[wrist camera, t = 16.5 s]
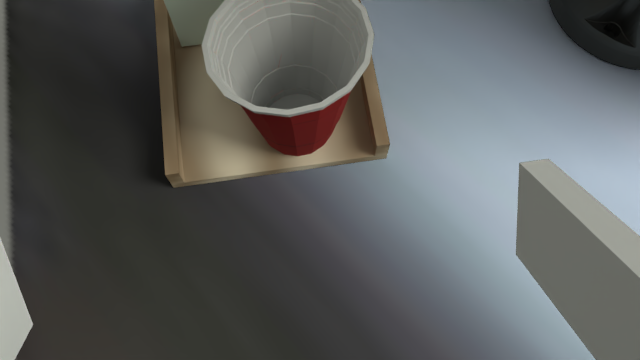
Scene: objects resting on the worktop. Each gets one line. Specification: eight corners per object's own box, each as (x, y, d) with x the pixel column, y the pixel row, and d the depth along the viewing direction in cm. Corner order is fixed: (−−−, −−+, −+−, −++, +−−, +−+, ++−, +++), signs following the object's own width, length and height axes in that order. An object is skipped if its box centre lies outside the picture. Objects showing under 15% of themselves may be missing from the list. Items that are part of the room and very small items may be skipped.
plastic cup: (293, 41, 51) (285, -62, 40) (390, 119, 49) (410, 32, 37) (199, 125, 49) (163, 39, 37) (296, 213, 46) (288, 149, 35)
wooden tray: (347, -33, 55) (351, -100, 48) (386, 158, 48) (397, 114, 41) (160, -10, 54) (135, -75, 47) (173, 187, 48) (146, 148, 40)
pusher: (339, 16, 52) (343, -50, 44) (341, 26, 51) (345, -39, 44) (180, 36, 51) (156, -27, 44) (181, 46, 51) (157, -16, 43)
